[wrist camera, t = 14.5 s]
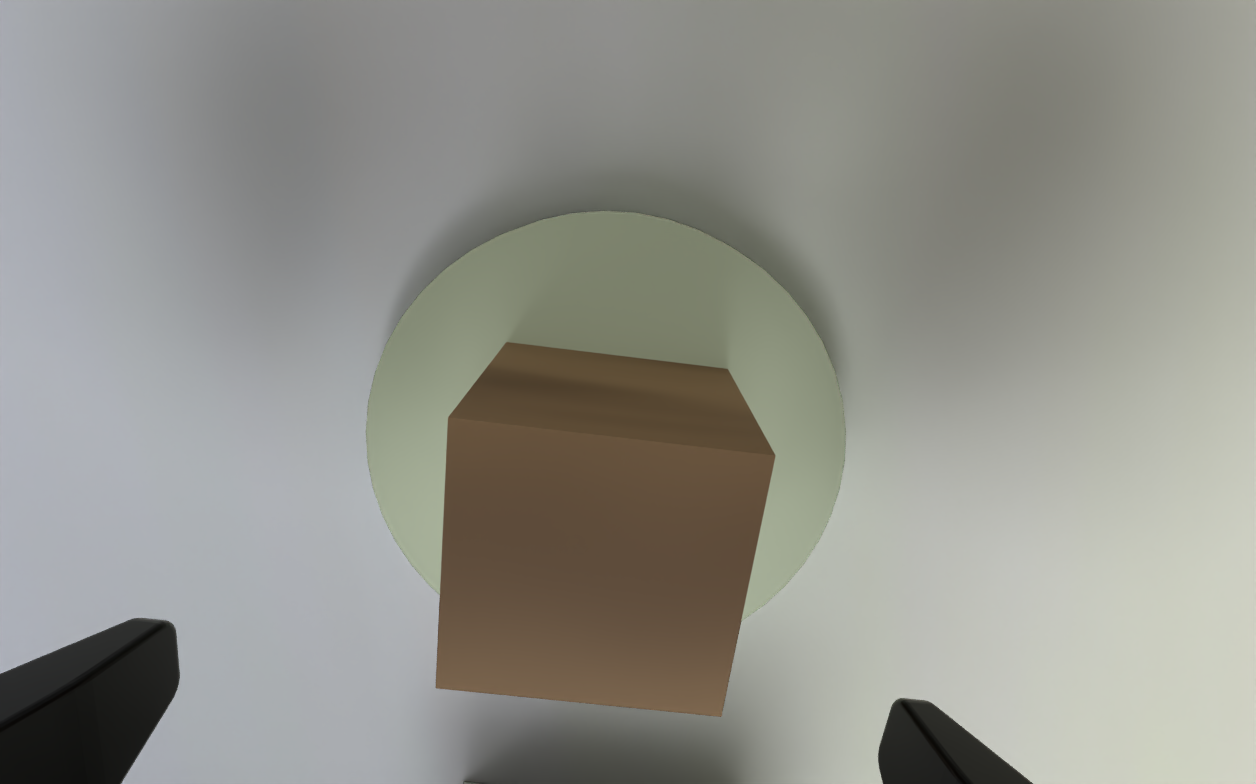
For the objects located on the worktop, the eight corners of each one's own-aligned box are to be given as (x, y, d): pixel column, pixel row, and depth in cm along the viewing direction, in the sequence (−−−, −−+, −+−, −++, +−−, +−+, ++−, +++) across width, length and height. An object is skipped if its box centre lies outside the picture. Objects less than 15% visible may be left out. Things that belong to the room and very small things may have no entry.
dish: (779, 642, 15) (792, 680, 14) (384, 598, 15) (363, 634, 14) (873, 243, 12) (898, 250, 11) (393, 179, 12) (368, 178, 11)
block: (693, 561, 13) (721, 716, 9) (492, 539, 13) (435, 688, 9) (727, 368, 12) (775, 455, 8) (506, 341, 12) (447, 417, 8)
